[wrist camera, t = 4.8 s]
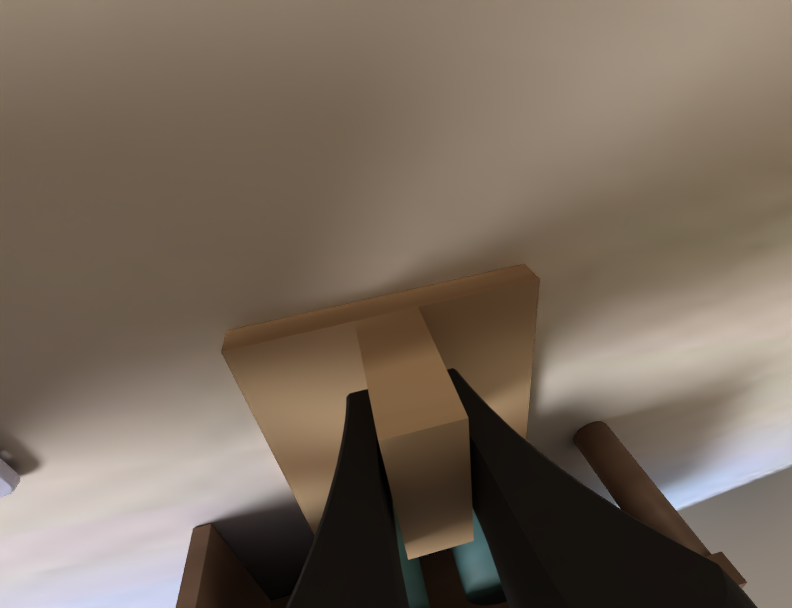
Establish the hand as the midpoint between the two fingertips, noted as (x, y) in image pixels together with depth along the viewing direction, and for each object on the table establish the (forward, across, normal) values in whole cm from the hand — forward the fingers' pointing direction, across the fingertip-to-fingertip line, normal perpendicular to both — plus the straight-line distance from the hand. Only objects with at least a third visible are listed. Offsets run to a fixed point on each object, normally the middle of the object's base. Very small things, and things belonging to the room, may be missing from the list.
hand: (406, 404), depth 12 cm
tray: (+2, 0, +3) cm, 4 cm away
